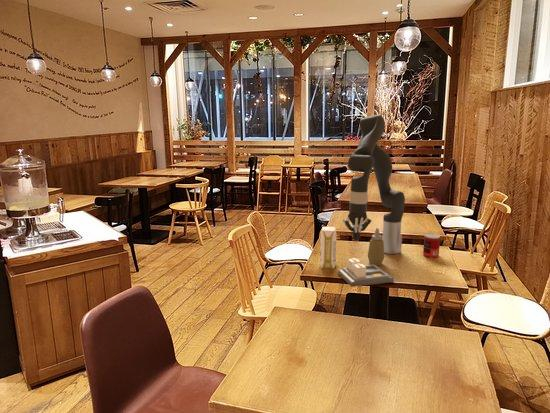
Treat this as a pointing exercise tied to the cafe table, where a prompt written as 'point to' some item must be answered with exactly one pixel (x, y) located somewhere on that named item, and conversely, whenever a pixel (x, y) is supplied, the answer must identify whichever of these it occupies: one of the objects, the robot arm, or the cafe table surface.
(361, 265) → the tab
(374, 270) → the grey tray
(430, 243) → the canned food
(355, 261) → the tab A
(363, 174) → the robot arm
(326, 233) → the juice carton
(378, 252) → the squeeze bottle
